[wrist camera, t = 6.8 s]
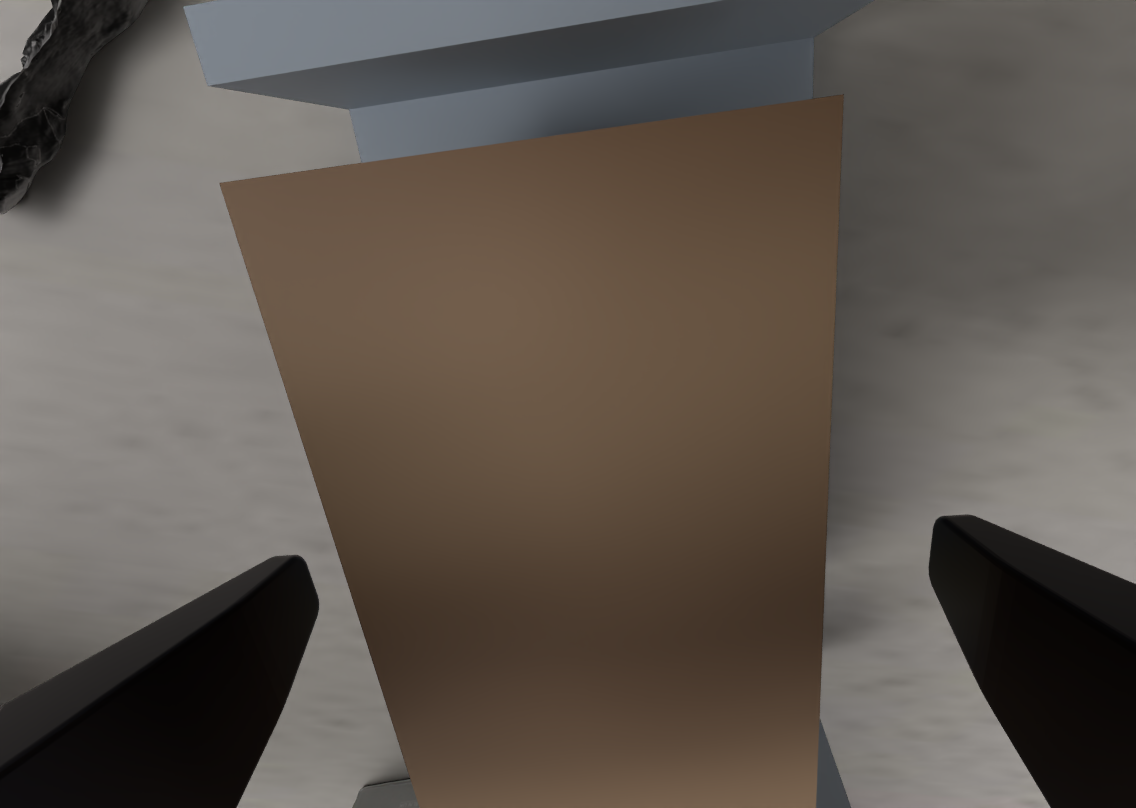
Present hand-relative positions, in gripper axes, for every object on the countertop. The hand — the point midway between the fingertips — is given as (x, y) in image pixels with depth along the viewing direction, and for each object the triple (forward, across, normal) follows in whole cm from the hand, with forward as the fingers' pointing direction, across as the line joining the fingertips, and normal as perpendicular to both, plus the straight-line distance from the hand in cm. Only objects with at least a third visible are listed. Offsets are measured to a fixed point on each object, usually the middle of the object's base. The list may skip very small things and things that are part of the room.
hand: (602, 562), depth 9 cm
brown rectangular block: (+2, 0, 0) cm, 2 cm away
